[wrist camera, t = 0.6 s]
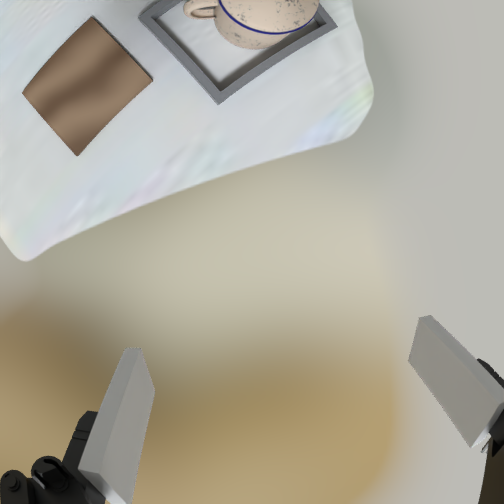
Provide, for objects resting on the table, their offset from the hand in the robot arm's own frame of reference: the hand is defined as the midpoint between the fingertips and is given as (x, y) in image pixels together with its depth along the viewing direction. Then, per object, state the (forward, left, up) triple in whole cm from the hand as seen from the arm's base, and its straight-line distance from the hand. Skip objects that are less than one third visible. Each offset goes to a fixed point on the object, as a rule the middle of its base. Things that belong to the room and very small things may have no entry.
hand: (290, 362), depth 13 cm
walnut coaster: (-22, -4, -25) cm, 34 cm away
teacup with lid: (-16, +14, -26) cm, 34 cm away
